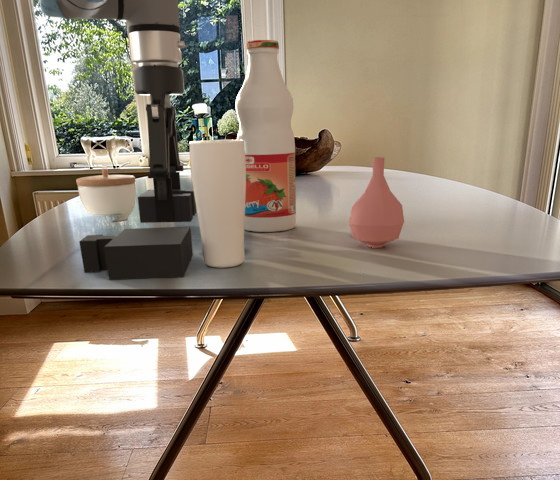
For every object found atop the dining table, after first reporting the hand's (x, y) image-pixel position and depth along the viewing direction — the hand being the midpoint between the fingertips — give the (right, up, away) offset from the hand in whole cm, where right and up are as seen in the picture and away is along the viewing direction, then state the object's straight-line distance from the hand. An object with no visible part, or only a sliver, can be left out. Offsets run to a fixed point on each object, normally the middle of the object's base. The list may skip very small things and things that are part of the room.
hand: (170, 216), depth 99 cm
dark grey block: (0, 0, 0) cm, 0 cm away
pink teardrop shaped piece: (+32, -8, -14) cm, 36 cm away
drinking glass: (+11, -12, -21) cm, 27 cm away
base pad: (0, -12, -22) cm, 25 cm away
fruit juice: (+16, -2, +3) cm, 17 cm away
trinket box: (-14, +3, +16) cm, 21 cm away
